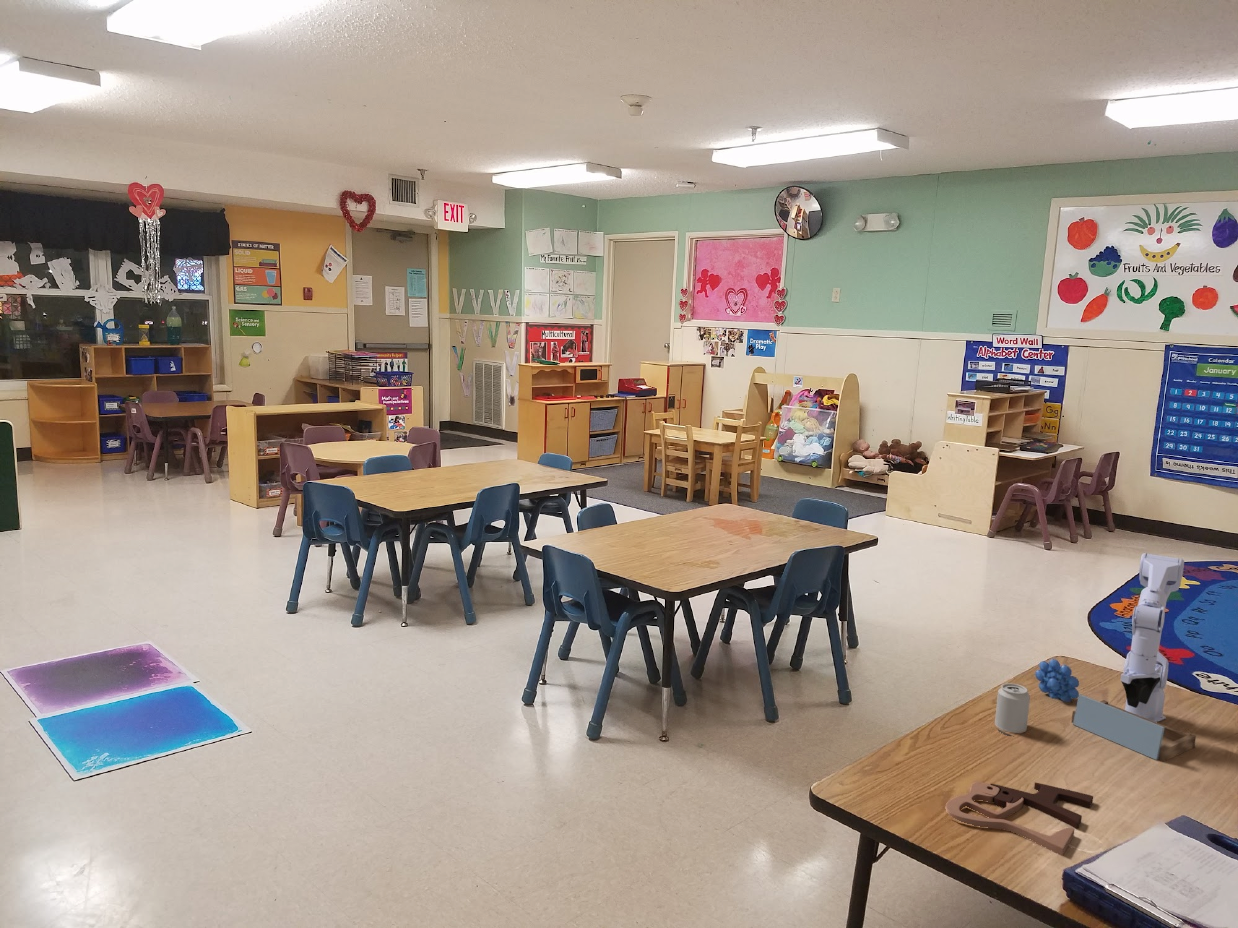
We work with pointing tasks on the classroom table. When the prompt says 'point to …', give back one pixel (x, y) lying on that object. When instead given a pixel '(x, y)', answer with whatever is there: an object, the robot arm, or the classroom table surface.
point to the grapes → (1057, 680)
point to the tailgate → (1119, 726)
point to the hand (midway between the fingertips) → (1137, 704)
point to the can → (1012, 708)
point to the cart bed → (1166, 739)
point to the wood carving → (1014, 802)
